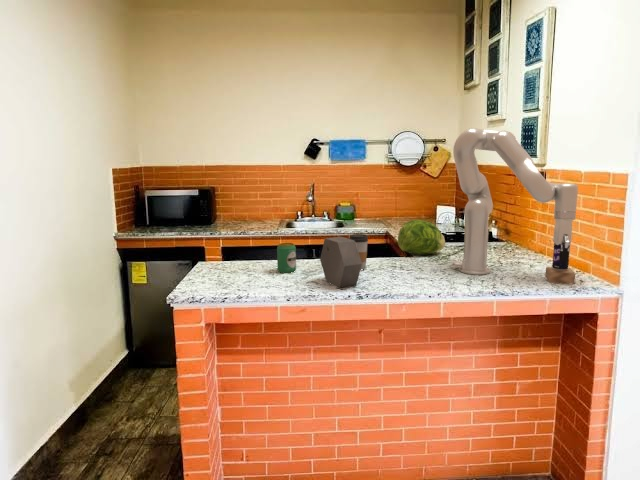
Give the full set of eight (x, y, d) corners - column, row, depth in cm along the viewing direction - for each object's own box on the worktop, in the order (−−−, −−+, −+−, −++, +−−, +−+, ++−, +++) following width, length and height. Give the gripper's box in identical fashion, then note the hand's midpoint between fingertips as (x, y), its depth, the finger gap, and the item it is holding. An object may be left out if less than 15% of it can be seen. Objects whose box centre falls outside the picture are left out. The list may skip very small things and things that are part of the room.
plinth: (548, 282, 190) (549, 271, 190) (545, 276, 199) (546, 266, 198) (574, 284, 188) (575, 273, 187) (569, 278, 196) (570, 267, 196)
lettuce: (456, 241, 235) (445, 215, 248) (412, 234, 229) (403, 208, 242) (440, 266, 247) (431, 240, 260) (397, 260, 241) (390, 234, 254)
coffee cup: (371, 268, 215) (372, 235, 212) (359, 272, 209) (360, 237, 206) (356, 266, 220) (357, 233, 218) (344, 269, 214) (344, 235, 212)
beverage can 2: (554, 267, 197) (556, 238, 194) (569, 269, 193) (572, 239, 191) (550, 269, 192) (552, 240, 190) (565, 272, 189) (568, 241, 187)
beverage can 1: (286, 274, 206) (286, 246, 204) (273, 271, 211) (273, 244, 209) (299, 271, 211) (299, 244, 209) (287, 268, 217) (286, 241, 215)
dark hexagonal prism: (366, 277, 181) (350, 227, 188) (348, 280, 178) (333, 229, 185) (346, 292, 195) (333, 245, 202) (330, 294, 192) (316, 247, 199)
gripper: (550, 212, 198) (547, 253, 201) (558, 218, 182) (554, 262, 185) (570, 213, 196) (567, 254, 199) (580, 218, 180) (576, 264, 183)
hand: (561, 258), depth 192 cm, fingers open, 9 cm apart
